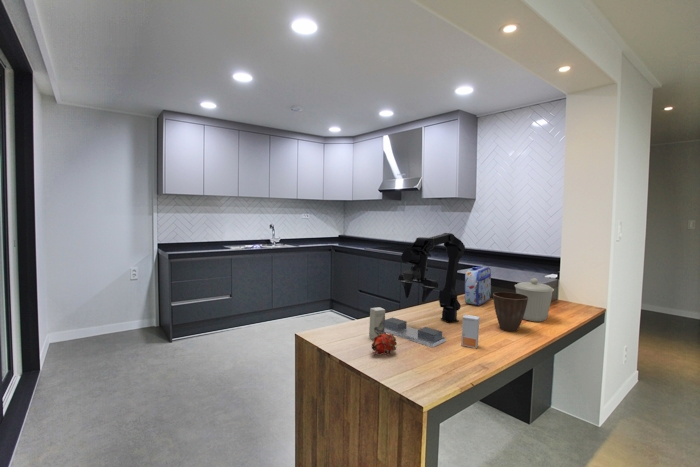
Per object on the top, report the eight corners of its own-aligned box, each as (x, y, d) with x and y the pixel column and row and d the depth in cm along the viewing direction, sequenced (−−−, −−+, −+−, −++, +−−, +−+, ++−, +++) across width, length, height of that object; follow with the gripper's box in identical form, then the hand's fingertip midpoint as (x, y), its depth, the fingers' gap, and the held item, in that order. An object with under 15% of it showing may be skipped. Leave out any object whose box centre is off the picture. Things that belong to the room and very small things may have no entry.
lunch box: (479, 308, 201) (481, 269, 200) (461, 305, 207) (463, 267, 206) (492, 299, 224) (493, 264, 222) (475, 296, 230) (476, 262, 228)
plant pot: (484, 326, 170) (486, 293, 169) (505, 322, 177) (506, 290, 176) (512, 336, 157) (514, 300, 156) (533, 331, 164) (535, 297, 163)
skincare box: (461, 345, 145) (462, 316, 144) (463, 342, 148) (464, 314, 148) (476, 348, 142) (478, 319, 141) (478, 345, 145) (479, 316, 145)
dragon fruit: (397, 354, 139) (374, 366, 131) (383, 336, 143) (361, 347, 136) (405, 341, 134) (383, 353, 126) (391, 323, 138) (368, 334, 131)
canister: (543, 326, 171) (546, 283, 170) (506, 317, 185) (508, 277, 184) (557, 319, 183) (560, 279, 182) (521, 311, 197) (523, 273, 196)
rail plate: (393, 325, 168) (394, 316, 168) (445, 341, 149) (446, 330, 149) (380, 330, 161) (380, 320, 161) (432, 347, 142) (433, 336, 142)
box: (374, 341, 147) (374, 310, 147) (368, 337, 151) (369, 307, 150) (384, 339, 150) (385, 309, 149) (379, 336, 154) (380, 306, 153)
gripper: (392, 260, 163) (387, 294, 162) (425, 266, 148) (419, 303, 147) (408, 263, 170) (403, 296, 169) (441, 268, 155) (435, 304, 155)
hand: (414, 299), depth 160 cm, fingers open, 9 cm apart
